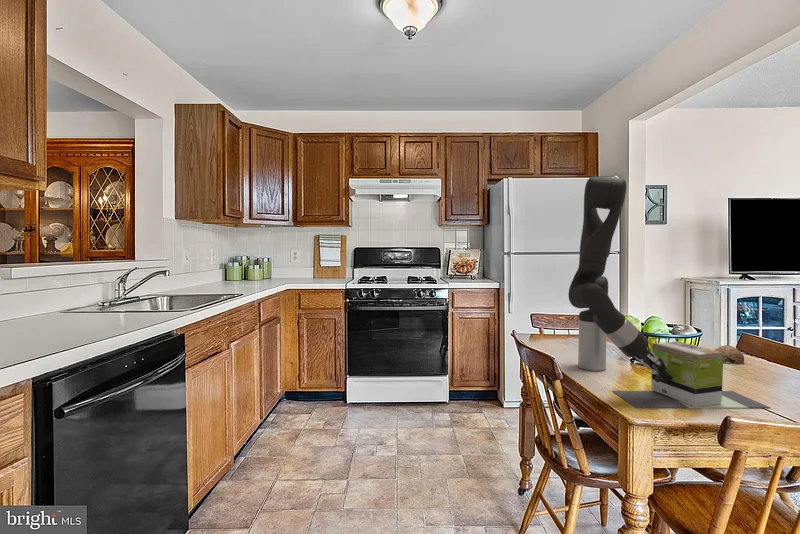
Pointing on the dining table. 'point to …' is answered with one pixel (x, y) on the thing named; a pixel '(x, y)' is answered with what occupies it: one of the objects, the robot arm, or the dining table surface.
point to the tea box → (690, 373)
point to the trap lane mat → (663, 401)
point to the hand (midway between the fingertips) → (668, 379)
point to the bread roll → (731, 355)
